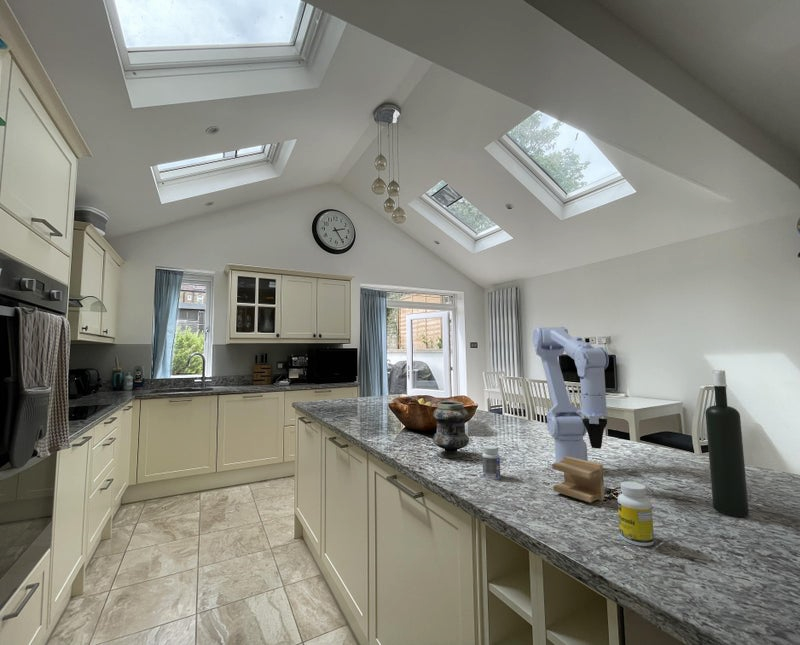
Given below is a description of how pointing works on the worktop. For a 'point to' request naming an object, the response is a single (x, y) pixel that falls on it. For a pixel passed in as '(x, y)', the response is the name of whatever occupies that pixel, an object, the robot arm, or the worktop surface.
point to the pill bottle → (491, 462)
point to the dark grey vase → (450, 429)
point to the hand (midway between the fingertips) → (596, 447)
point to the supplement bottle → (635, 514)
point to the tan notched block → (580, 479)
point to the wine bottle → (726, 453)
